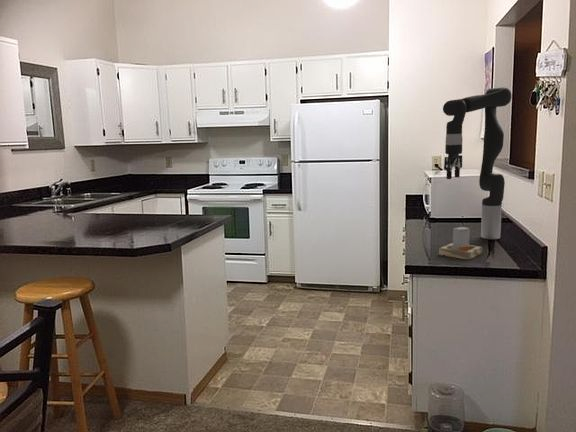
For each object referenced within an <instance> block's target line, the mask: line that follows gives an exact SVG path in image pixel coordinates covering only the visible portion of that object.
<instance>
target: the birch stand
mask: <svg viewBox="0 0 576 432" xmlns="http://www.w3.org/2000/svg"><path fill="white" fill-rule="evenodd" d="M482 253H483V246H479V245H472V244H469V251H461V250H454V249H453V242H451V243H449V244H447V245H444V246H442V247H439V249H438V255H439V256H443V255H445V256H444V257H451V258H456V259H457V258H458V259H463V260H472V259H473V258H475V257H477V256H479V255H481V254H482Z"/></svg>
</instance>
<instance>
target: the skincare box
mask: <svg viewBox="0 0 576 432" xmlns="http://www.w3.org/2000/svg"><path fill="white" fill-rule="evenodd" d="M452 229H453V230H452V243H453V249H454V250H461V251H469V245H470V237H471V236H470V233H471V232H470V231H471V228H469V227H466V226H460V227H459V226H458V227H453V228H452Z"/></svg>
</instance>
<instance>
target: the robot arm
mask: <svg viewBox="0 0 576 432" xmlns="http://www.w3.org/2000/svg"><path fill="white" fill-rule="evenodd" d="M512 96H513V95H512V92H511V90H510V89H509V88H507V87H493V88H489V89H487V90H486V92H485V93H484V94H477V95H471V96H466V97H464V98H458V99H452V100H448V101H446V102H445V103H444V105H443V106H442V111H443V113H444V114H445V115H446V116H449V117H451V116H452V117H453V118H452V120H450V121H448V122H446V134H445V146H444V147H445V150H444V152H445V154H446V155H447V156H444V160H443V161H444V162H443V170H444V171H446V179H447V180H451V179H452V178H453V177H452V176H453V175H452V173H453V168H454V178H460V174H461V171H460V170H461V169H462V168H463V155H462V154H463V124H464V121H465V117H466V113H470V112H471V113H472V112H474V111H478V110H481V109H482V110H483V109H484V134H483V146H482V147H483V149H482V158H481V159H482V161H481V166H480V167H481V168H480V173H479V180H478V182H479V187H480V189H481V190H482V191H484V192H485V191H486V192H489V195H488V196H487V197H484V198H483V199H482V201H481V225H480V227H481V229H480V238H482V239H484V240H498V239H500V238H501V229H502V228H501V227H502V205H503V203H502V202H503V200H504V195H505V194H504V193H505V177H504V176H503V174H501V173H495V172H494V173H493V169H494V164H495V161H496V160H497V158H498V156H499V155H500V154H501V153H502V151H503V147H504V141H505V140H504V139H505V138H504V137H505V134H504V130H503V128H502V125H501V124H500V122H499V120H498V116H497V108H500V107H505V106H507V105H508V104H510V102H511V101H512Z"/></svg>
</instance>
